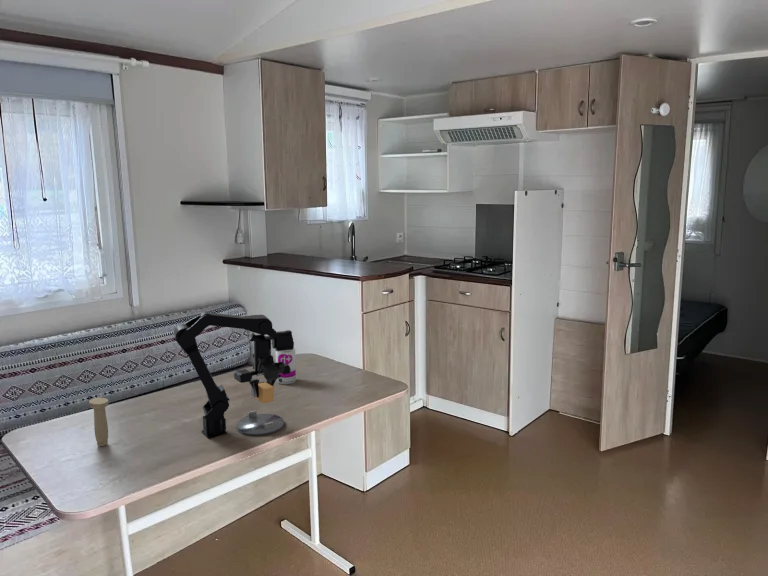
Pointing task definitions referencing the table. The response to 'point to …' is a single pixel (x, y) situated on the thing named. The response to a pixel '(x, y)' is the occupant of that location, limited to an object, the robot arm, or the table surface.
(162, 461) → the table surface
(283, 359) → the supplement can
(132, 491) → the table surface
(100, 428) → the handle
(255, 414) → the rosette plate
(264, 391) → the tan and grey block
